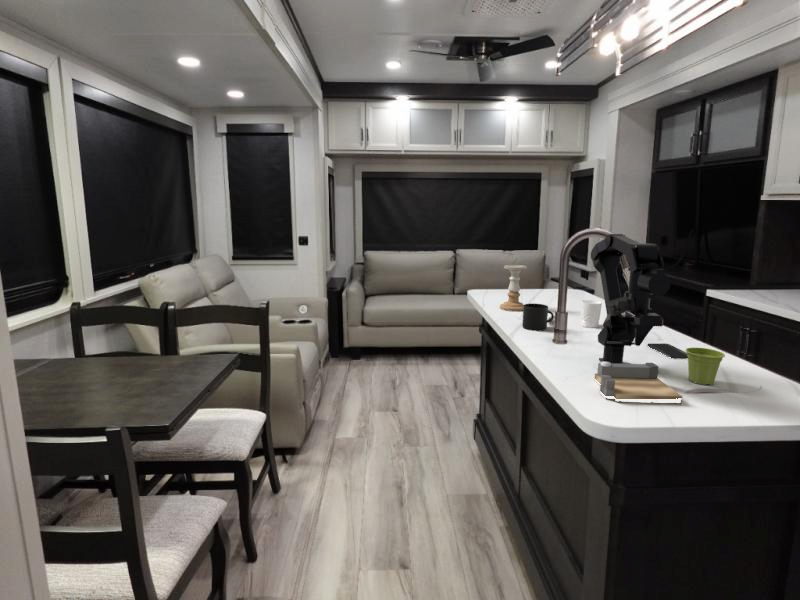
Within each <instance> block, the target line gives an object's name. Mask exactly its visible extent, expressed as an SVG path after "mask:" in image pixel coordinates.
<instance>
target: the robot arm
mask: <svg viewBox="0 0 800 600" xmlns="http://www.w3.org/2000/svg"><path fill="white" fill-rule="evenodd" d="M618 253H619V254H618ZM624 255H625V256H626V257H625V260H626V261H627V262H628V263H629V265H630V266H629V267H628V268H627V271H628V272H629V279H628V280H629V281H628V288H627V289H628V290H626V291H625V292H624V293H623V296H622V294H621V288H620V284H619V278H618V272H617V270H618V269H617V268H618V267H619V265H620V262H621V258H622V256H624ZM590 259H591V262H592V264H593V267H594V269H595V270H596V271H597V272H598V273H599V274H600V280H601V285H602V291H603V299H604V304H605V310H606V311H605V312H606V317H605V319H604V321H603V322H602V323H603V324H602V328H601V330H600V331H599V333H598V335H597V343H599V344H600V345H602V346H603V353H602V354H603V356H602V357H599V358H598V360H599V362H600V363H601V362H603V361H605V362H610V363H613V364H627V363H626V362H624V353H625V346H626V347H631V346H632V344H633V342H634V344H635V346H636V347H640V346H641V345H642V343H643V341H644V340H645V339H646V337H647V336H648V334H649V333H651V332H650V331H652V329H654V327H663V326H664V318H663V317H662V316H661V315H660V314H658V313H656V312H653V309H652V308H650V303H651V299H654V296H656V297H658V296H659V297H661V296H664V295H665V294H666V293H668V292H669V290H670V288H671V285H672V284H671V281H670V278H669V277H668V275H666V274H665V262H664V259H663V256H662V255H661V250H660V248H659V246H658V244H656V243H642V242H641V243H640V242H638V241H637V240H633V239H632V238H630V237H627V236H626V234H623V233H609V234H607V235H606V236H605V238H603V239H601V240H600V241H598V242H596V243H595V245H594V246H593V248H592V249H591V252H590Z"/></svg>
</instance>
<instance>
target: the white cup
mask: <svg viewBox="0 0 800 600" xmlns="http://www.w3.org/2000/svg"><path fill="white" fill-rule="evenodd" d="M602 304H603V302H601V301H599V300H594V299H593V300H592V299H585V300H583V299H582V300H581V301H580V326H581V327H583V328H590V329H593V328H599V322H600V318H601V311H602Z"/></svg>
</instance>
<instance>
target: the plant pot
mask: <svg viewBox="0 0 800 600" xmlns="http://www.w3.org/2000/svg"><path fill="white" fill-rule="evenodd" d="M685 352H686V353H687V356H688V359H687V365H688V367H687V368H688V369H687V371H688V381H691V382H692V381H693V382H692V383H694V382H696V383H695V384H698V383H699V385H702V384H706V385H710V384H712V385H714V384H715V381H716V378H717V375H718V371H719V367H720V365H721V362H722V361H723V359H724V358H725V357H726V354H725V353H723V352H721V351H719V350H717V349H716V350H715V349H711V348H705V347H694V346H693V347H687V348H686V349H685ZM713 383H714V384H713Z"/></svg>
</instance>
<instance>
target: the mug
mask: <svg viewBox="0 0 800 600" xmlns="http://www.w3.org/2000/svg"><path fill="white" fill-rule="evenodd" d="M523 305H524V307H523V311H522V328H523V329H525V330H528V331H534V330H536V331H538V332H539V330H541V331H545V330H547V329H548V323H551V322H552V321H553V320H554V313H553V312H552V311H550V310H549V306H548V305H547V304H543V303H542V304H541V303H525V304H523ZM548 314H550V316H551V318H550V319H548V317H549V316H548Z"/></svg>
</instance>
